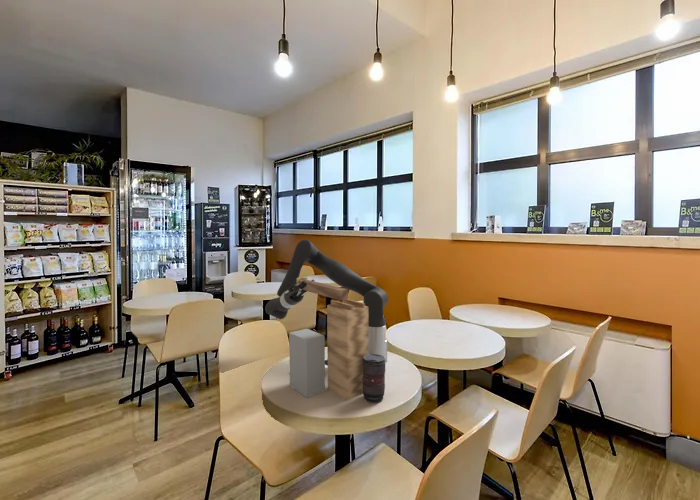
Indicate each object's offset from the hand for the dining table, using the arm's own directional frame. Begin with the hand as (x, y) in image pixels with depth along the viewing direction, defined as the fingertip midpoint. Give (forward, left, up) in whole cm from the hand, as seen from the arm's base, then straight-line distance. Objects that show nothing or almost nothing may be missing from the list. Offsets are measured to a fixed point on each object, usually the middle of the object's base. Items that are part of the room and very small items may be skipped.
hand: (309, 282), depth 139 cm
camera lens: (-7, +30, -39) cm, 50 cm away
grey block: (+7, +8, -39) cm, 40 cm away
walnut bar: (0, +8, -3) cm, 8 cm away
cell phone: (-17, -7, -40) cm, 44 cm away
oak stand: (-4, +19, -39) cm, 44 cm away
